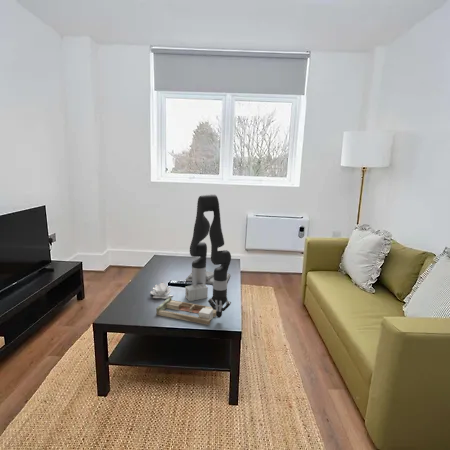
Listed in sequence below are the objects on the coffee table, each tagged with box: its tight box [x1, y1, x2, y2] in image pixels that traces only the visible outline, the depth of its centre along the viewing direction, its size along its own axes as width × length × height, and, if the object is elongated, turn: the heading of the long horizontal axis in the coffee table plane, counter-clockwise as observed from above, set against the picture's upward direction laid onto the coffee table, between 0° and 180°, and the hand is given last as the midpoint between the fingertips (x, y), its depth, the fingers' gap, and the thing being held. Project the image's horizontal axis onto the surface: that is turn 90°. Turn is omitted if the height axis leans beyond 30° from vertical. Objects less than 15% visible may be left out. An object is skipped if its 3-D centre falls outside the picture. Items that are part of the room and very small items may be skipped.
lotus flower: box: [150, 282, 174, 299], centre depth 200 cm, size 14×15×9 cm
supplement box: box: [185, 284, 209, 302], centre depth 200 cm, size 7×7×13 cm
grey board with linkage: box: [185, 271, 231, 285], centre depth 233 cm, size 30×22×7 cm
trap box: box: [155, 296, 217, 326], centre depth 179 cm, size 16×32×4 cm, turn 73°
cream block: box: [198, 308, 214, 322], centre depth 174 cm, size 6×6×5 cm
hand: (219, 317), depth 172 cm, fingers closed
